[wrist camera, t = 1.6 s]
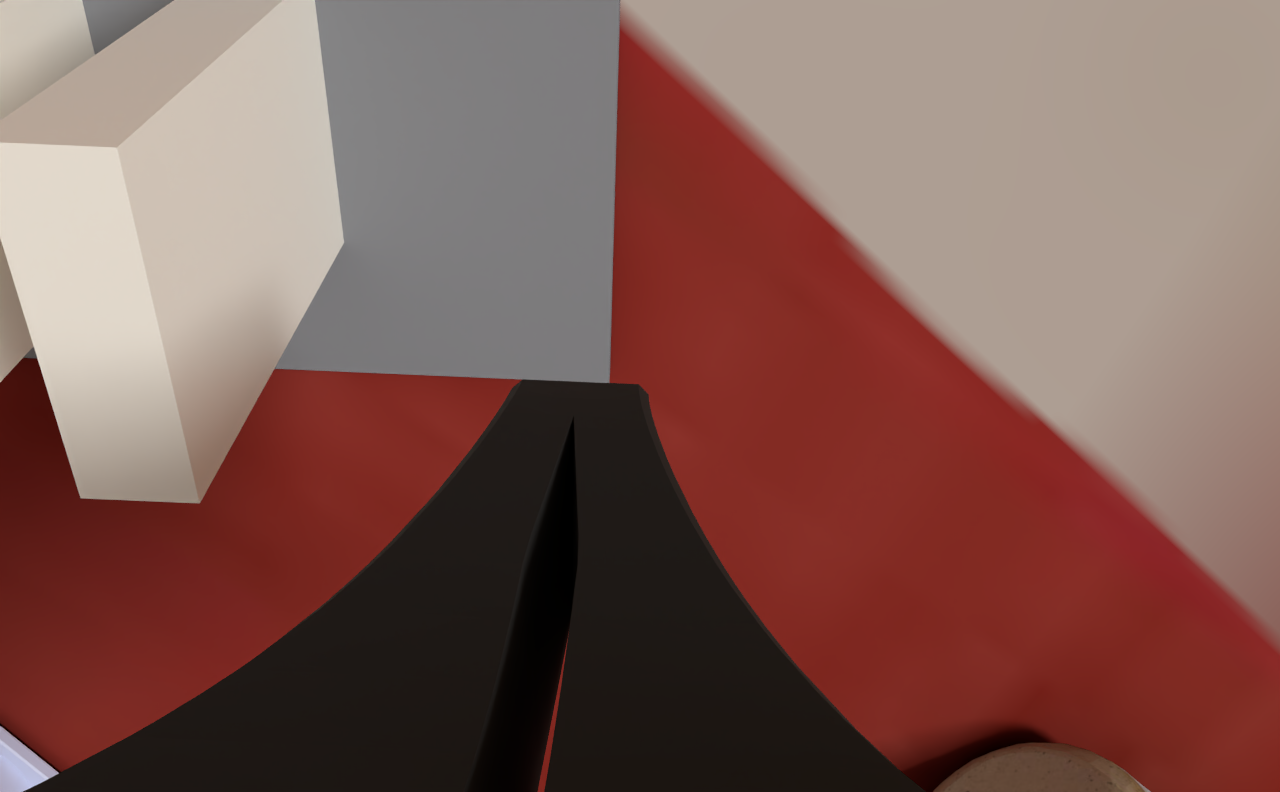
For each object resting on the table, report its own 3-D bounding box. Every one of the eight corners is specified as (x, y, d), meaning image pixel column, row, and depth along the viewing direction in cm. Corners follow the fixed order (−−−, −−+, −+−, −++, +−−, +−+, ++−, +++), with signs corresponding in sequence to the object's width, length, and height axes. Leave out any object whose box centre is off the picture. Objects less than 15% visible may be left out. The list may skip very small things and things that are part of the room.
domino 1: (312, -26, 19) (116, 148, 12) (344, 242, 22) (200, 503, 15) (216, -30, 19) (-30, 140, 12) (261, 239, 22) (80, 498, 15)
